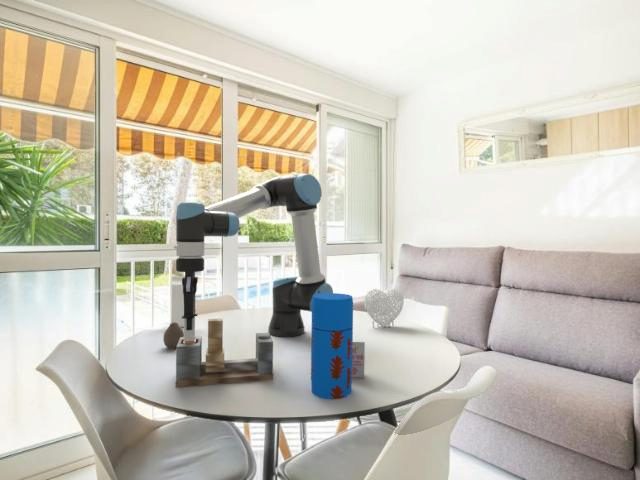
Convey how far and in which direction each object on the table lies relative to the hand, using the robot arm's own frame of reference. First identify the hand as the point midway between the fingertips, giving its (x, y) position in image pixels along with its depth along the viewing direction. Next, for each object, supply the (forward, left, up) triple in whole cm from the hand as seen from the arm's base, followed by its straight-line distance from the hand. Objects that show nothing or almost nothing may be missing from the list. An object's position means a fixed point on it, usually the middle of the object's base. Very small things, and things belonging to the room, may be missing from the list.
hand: (189, 340), depth 108 cm
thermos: (-37, +17, -11) cm, 42 cm away
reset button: (0, 0, -3) cm, 3 cm away
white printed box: (-46, +8, -11) cm, 48 cm away
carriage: (-7, 0, -9) cm, 11 cm away
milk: (+10, -65, -11) cm, 67 cm away
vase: (+8, -32, -11) cm, 35 cm away
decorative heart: (-79, -46, -11) cm, 92 cm away
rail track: (-10, 0, -11) cm, 15 cm away
